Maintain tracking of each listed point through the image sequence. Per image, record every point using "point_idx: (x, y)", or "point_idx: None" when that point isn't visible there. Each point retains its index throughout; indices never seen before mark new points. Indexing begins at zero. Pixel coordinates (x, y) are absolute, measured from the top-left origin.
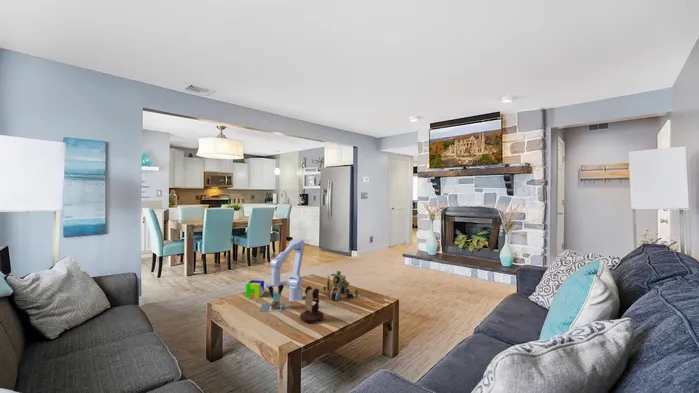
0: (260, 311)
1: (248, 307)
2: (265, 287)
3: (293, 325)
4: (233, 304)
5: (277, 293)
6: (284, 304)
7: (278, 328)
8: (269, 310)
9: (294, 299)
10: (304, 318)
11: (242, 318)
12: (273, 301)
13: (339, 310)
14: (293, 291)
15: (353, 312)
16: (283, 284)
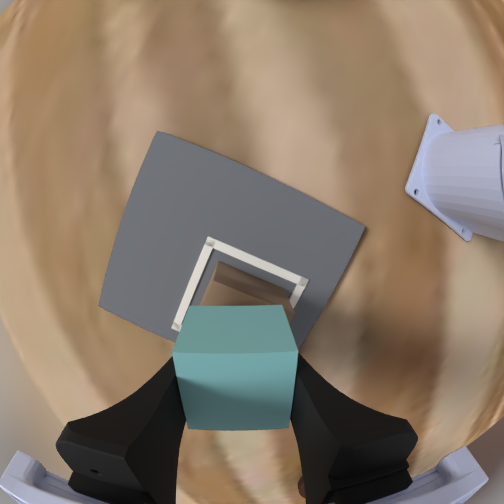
0: (106, 302)
1: (55, 149)
2: (34, 482)
3: (250, 485)
4: (18, 65)
5: (268, 400)
6: (344, 256)
7: (184, 480)
8: (173, 327)
9: (445, 212)
10: (304, 496)
11: (23, 322)
12: (224, 293)
13: (467, 413)
14: (491, 217)
15: (470, 429)
16: (409, 496)
